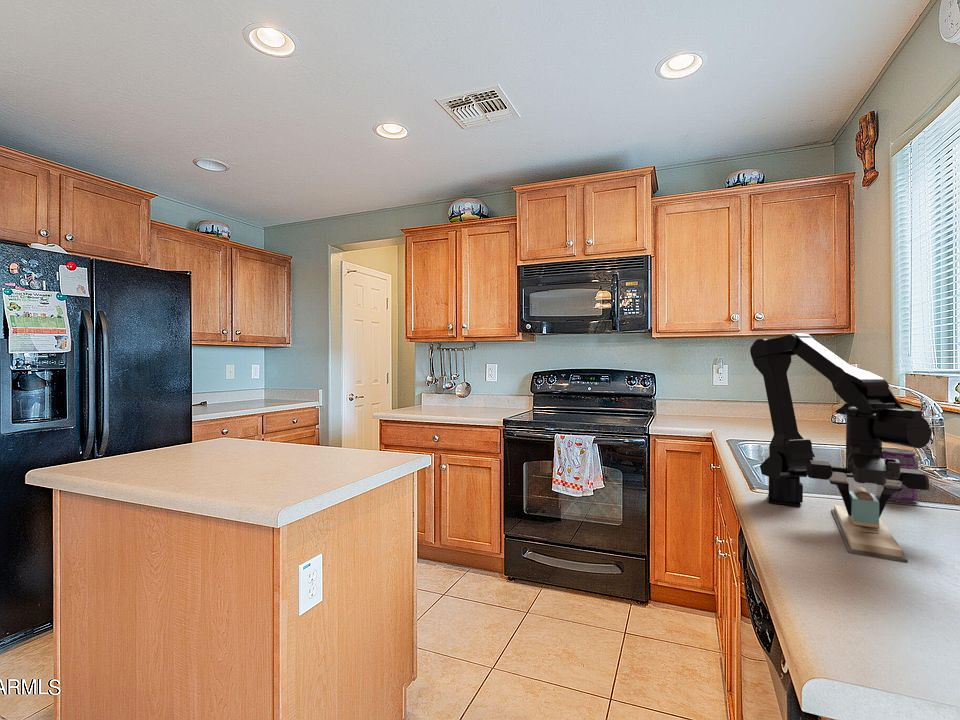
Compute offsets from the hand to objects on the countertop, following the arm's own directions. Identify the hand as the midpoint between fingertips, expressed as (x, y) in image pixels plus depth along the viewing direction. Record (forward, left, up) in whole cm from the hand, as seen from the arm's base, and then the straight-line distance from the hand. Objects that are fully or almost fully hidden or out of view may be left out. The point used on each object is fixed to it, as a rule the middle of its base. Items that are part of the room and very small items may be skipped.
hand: (863, 517), depth 98 cm
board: (0, -2, -3) cm, 3 cm away
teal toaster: (0, 0, -1) cm, 1 cm away
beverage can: (+11, +30, -3) cm, 32 cm away
